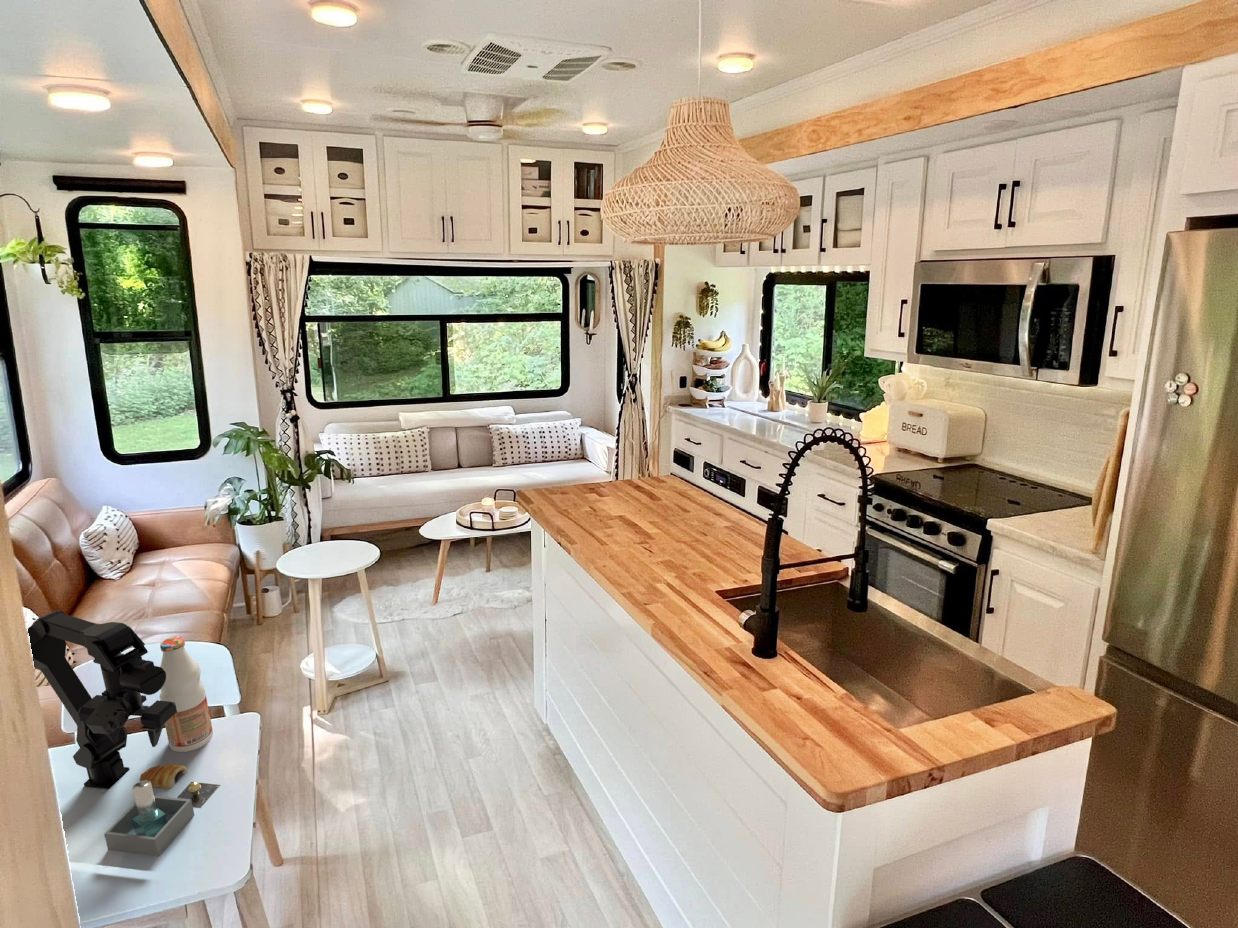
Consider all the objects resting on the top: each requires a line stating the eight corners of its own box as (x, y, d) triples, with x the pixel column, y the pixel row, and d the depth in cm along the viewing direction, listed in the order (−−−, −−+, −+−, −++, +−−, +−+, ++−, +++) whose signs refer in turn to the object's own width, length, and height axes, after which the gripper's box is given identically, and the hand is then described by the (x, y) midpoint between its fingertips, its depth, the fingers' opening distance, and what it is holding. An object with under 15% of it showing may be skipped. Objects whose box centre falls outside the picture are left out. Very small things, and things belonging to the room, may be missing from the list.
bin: (109, 853, 155) (104, 833, 153) (147, 812, 165) (143, 794, 163) (159, 859, 153) (154, 839, 152) (195, 818, 164) (191, 799, 162)
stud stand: (171, 808, 166) (167, 793, 165) (192, 785, 173) (189, 770, 172) (201, 811, 166) (198, 796, 164) (221, 788, 172) (218, 773, 171)
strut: (135, 835, 158) (124, 788, 155) (157, 821, 162) (146, 775, 158) (147, 844, 156) (136, 796, 152) (169, 830, 160) (158, 782, 156)
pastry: (133, 789, 172) (130, 775, 171) (154, 768, 178) (152, 755, 177) (172, 793, 171) (169, 779, 170) (192, 772, 177) (189, 759, 176)
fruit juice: (161, 753, 183) (138, 651, 174) (186, 728, 192) (166, 629, 183) (198, 756, 182) (178, 653, 173) (221, 731, 191) (203, 632, 182)
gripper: (49, 701, 155) (66, 765, 160) (134, 709, 153) (148, 773, 158) (92, 670, 166) (106, 730, 171) (172, 677, 163) (184, 738, 168)
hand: (135, 743), depth 167 cm, fingers open, 9 cm apart
